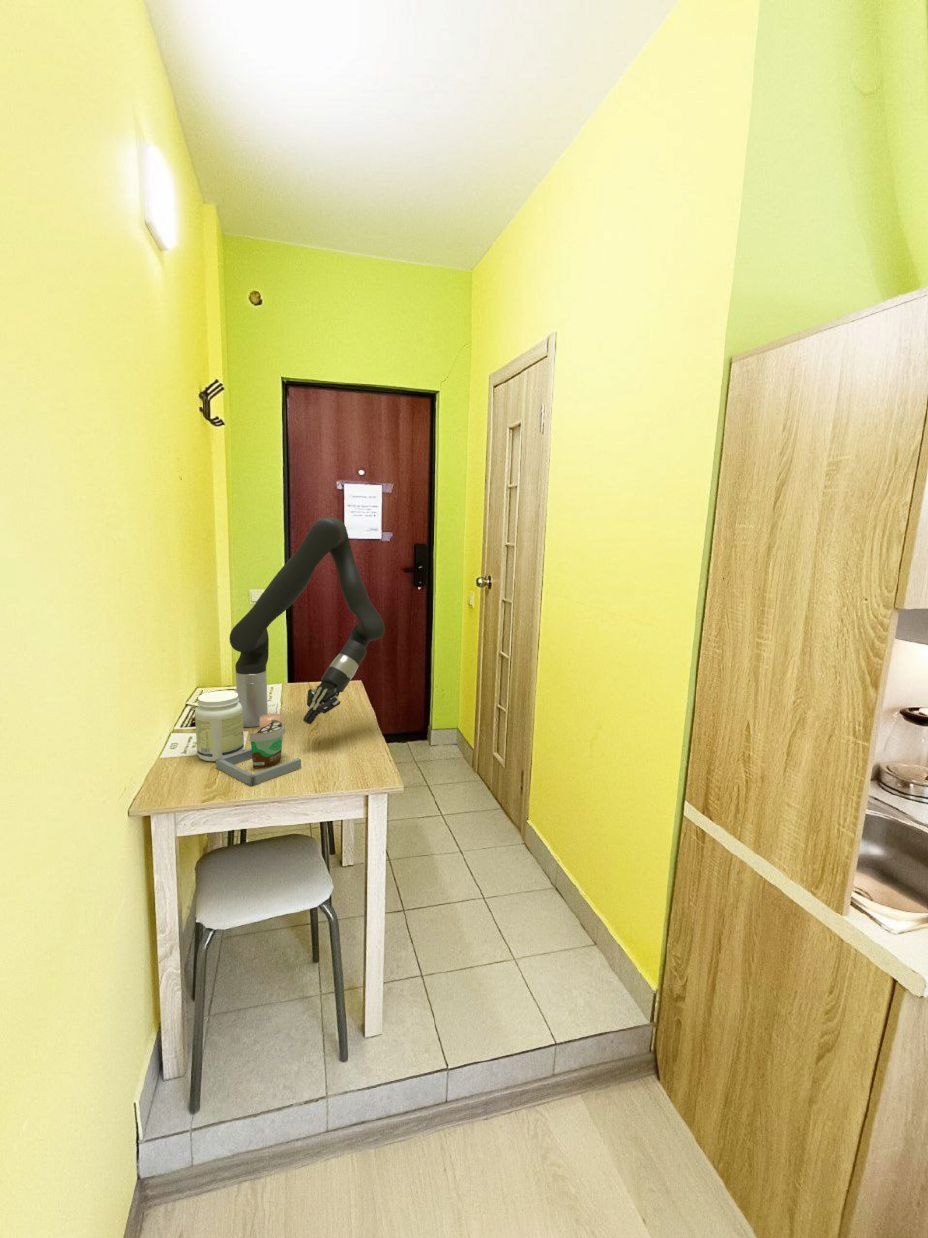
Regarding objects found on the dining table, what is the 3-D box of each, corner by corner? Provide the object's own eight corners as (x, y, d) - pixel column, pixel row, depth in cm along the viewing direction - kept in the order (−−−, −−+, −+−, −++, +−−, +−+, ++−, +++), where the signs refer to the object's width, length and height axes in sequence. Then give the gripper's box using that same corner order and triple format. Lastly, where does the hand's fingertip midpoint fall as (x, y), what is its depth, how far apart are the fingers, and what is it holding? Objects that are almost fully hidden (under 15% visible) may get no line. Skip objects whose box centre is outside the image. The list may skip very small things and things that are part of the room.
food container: (271, 772, 153) (270, 736, 151) (250, 770, 154) (248, 733, 152) (293, 754, 165) (292, 720, 163) (273, 752, 166) (272, 718, 164)
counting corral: (216, 768, 154) (216, 759, 154) (265, 751, 166) (265, 743, 165) (251, 786, 144) (251, 777, 144) (301, 767, 156) (300, 759, 155)
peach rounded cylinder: (256, 743, 172) (255, 717, 171) (273, 737, 177) (273, 712, 175) (268, 748, 168) (267, 721, 167) (285, 742, 173) (285, 716, 172)
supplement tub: (244, 744, 171) (242, 688, 168) (243, 760, 160) (241, 700, 157) (199, 748, 167) (196, 691, 164) (194, 765, 156) (191, 704, 153)
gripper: (318, 661, 175) (284, 710, 167) (347, 669, 167) (313, 721, 159) (333, 675, 180) (300, 723, 172) (362, 684, 172) (328, 734, 164)
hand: (306, 722), depth 166 cm, fingers closed
